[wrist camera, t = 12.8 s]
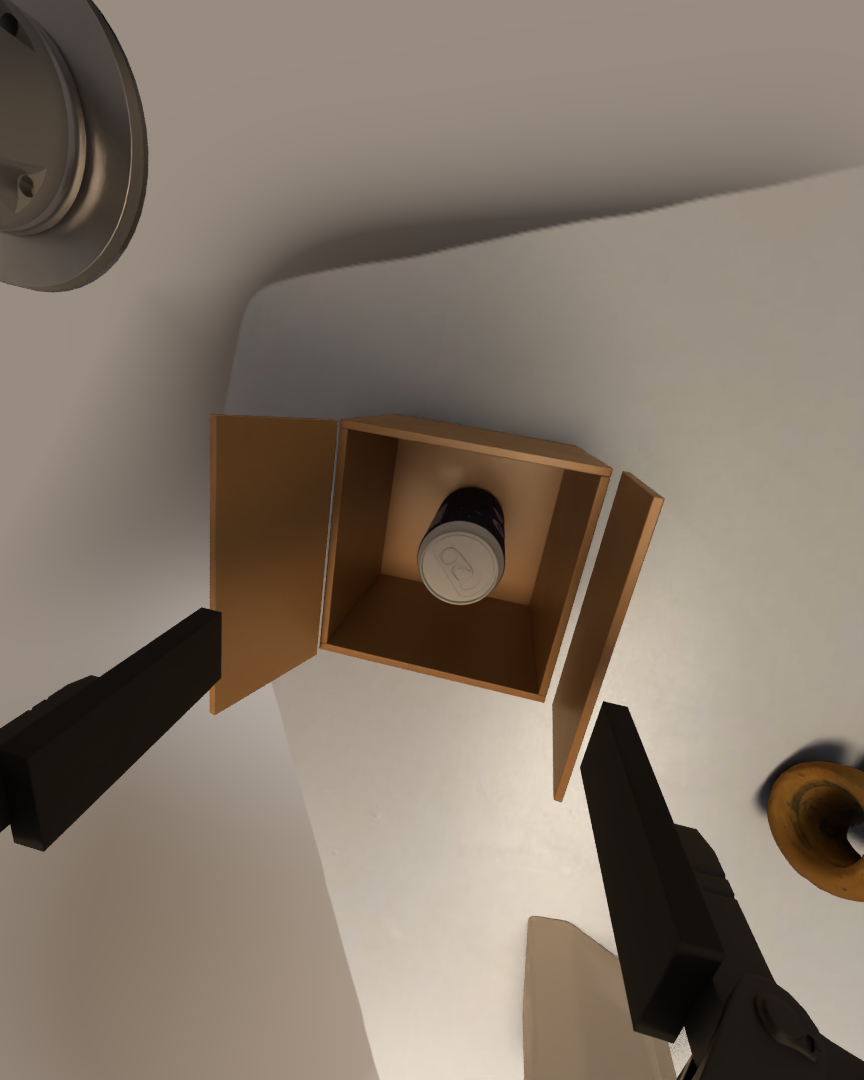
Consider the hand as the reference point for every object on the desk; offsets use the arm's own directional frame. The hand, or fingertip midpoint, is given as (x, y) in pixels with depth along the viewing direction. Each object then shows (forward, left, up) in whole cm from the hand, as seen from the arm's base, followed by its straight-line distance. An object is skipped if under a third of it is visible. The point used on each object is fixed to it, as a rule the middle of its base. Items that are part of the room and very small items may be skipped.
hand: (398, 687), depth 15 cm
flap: (-8, 0, -8) cm, 11 cm away
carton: (0, 0, -25) cm, 25 cm away
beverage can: (+1, 0, -25) cm, 25 cm away
